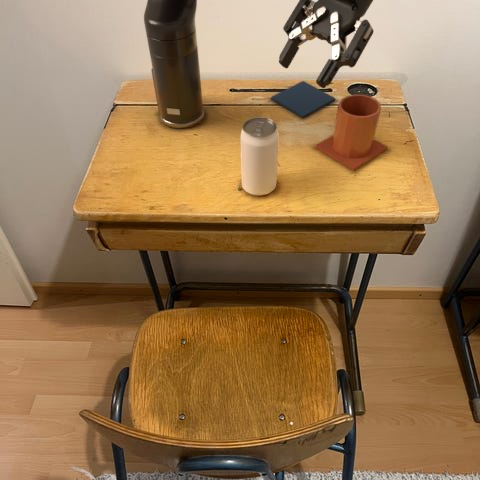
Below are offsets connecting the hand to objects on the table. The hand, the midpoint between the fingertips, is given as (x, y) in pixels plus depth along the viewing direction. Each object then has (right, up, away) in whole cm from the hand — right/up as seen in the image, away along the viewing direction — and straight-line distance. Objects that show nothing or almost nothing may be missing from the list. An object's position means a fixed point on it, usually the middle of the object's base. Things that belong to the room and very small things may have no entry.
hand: (300, 75), depth 75 cm
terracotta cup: (+12, -6, +17) cm, 21 cm away
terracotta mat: (+12, -6, +17) cm, 21 cm away
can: (-6, -15, +11) cm, 20 cm away
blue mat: (+4, +9, +27) cm, 29 cm away
